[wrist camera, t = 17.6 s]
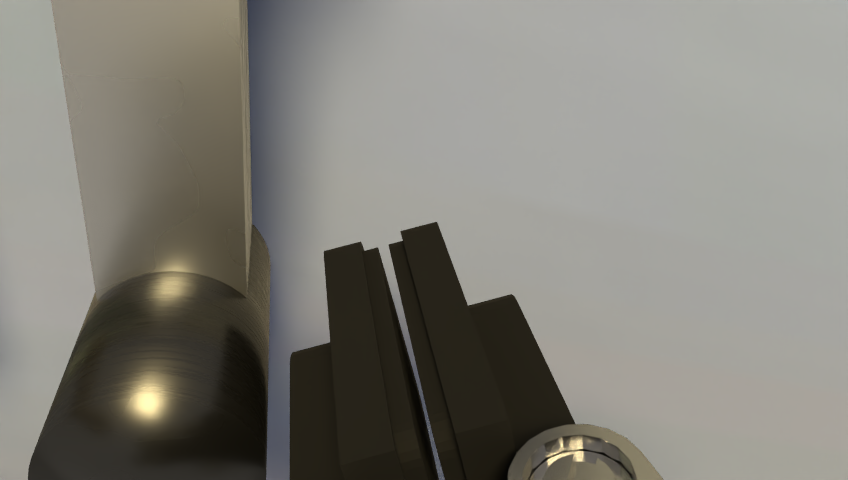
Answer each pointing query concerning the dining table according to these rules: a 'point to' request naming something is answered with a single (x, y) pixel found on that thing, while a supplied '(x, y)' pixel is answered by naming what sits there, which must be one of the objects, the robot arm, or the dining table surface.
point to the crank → (163, 248)
